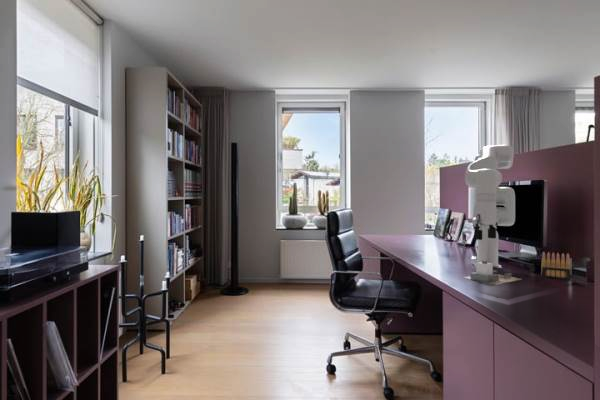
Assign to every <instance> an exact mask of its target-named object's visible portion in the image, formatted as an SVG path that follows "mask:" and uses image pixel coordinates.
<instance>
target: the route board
mask: <svg viewBox="0 0 600 400" xmlns="http://www.w3.org/2000/svg"><path fill="white" fill-rule="evenodd" d="M493 274H497V275H499V281H495V282H490V283H489V284H491V285H495V286H497V285H501V284H505V283H511V282H516V281H522V280H523V279H522V278H520V277H519V278H518V277H514V276H512V273H511V272H507V273H503V274H499V271H498V270H496V269H495V270H494V269H493ZM470 276H471V275H469V276H463V278H465V279H469V280H471V279H470ZM472 280H473V281H475V280H474V279H472ZM476 281H478V280H476ZM478 282H479V281H478ZM480 282H482V281H480ZM482 283H483V282H482ZM485 284H488V283H487V282H485Z"/></svg>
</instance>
